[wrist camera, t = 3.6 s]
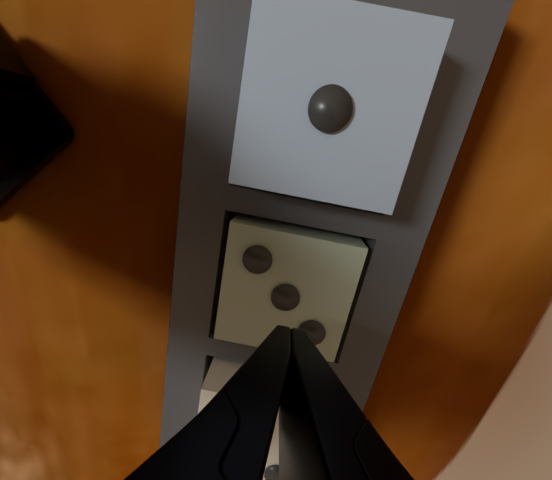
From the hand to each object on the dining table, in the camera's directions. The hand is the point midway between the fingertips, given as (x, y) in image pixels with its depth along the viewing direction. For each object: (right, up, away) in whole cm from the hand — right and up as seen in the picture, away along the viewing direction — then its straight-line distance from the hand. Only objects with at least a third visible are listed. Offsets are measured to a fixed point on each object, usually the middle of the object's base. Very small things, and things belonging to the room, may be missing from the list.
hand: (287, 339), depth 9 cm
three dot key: (0, +2, +5) cm, 5 cm away
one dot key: (+1, +7, +1) cm, 8 cm away
